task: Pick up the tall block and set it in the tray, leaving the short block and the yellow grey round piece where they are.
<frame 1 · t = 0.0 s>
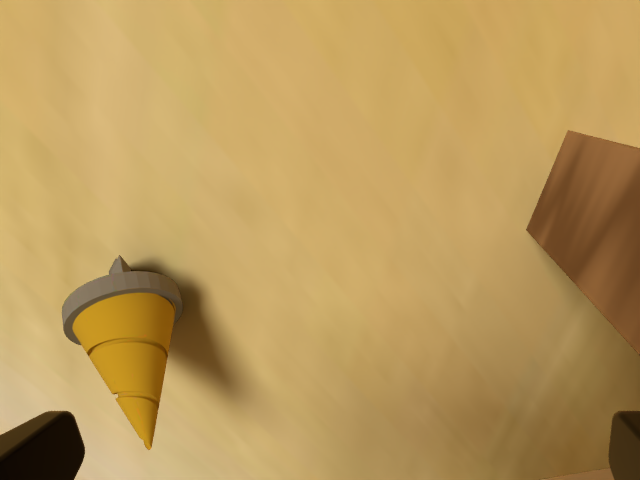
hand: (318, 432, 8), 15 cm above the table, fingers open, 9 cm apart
yellow grey round piece: (167, 298, 25), on the table
tall block: (598, 195, 20), on the table
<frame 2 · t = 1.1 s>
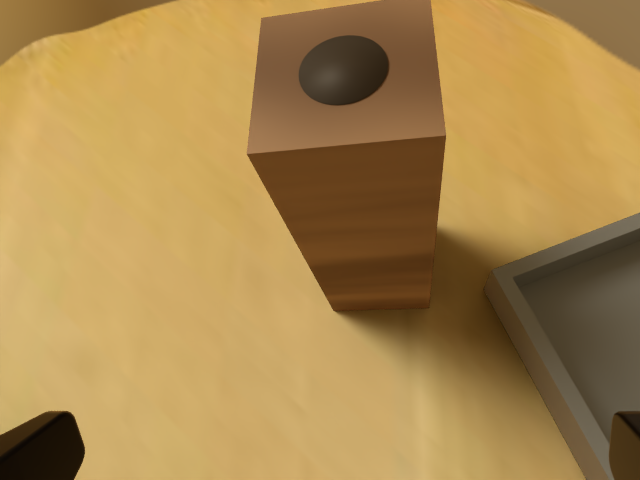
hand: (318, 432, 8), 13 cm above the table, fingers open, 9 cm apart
tall block: (378, 265, 23), on the table
when the fingers open (8 cm above the table, at t = 6.4 s): tall block stays where it is, resting on tray.
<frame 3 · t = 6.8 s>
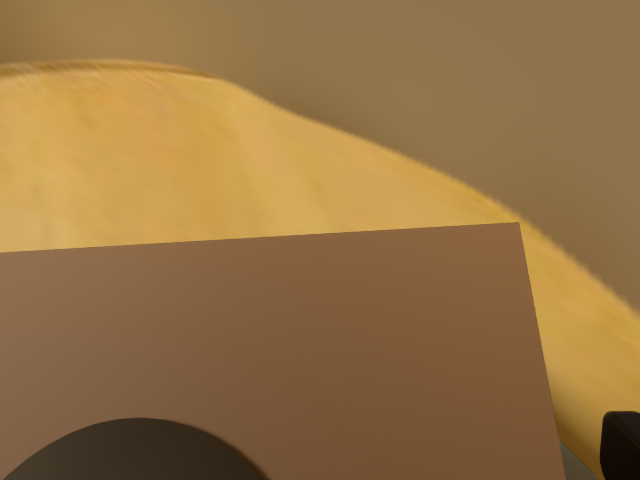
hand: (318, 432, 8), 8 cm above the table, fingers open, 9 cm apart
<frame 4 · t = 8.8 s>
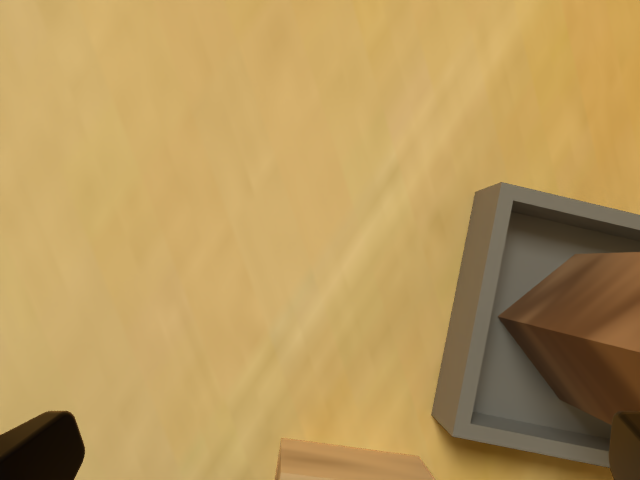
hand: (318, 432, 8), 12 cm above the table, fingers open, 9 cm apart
tray: (560, 324, 21), on the table
tall block: (567, 326, 20), resting on tray
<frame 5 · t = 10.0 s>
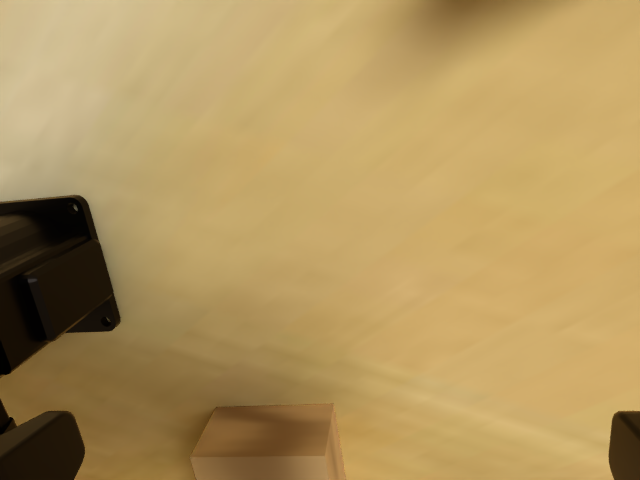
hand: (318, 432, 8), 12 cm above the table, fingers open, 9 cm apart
short block: (284, 450, 24), on the table
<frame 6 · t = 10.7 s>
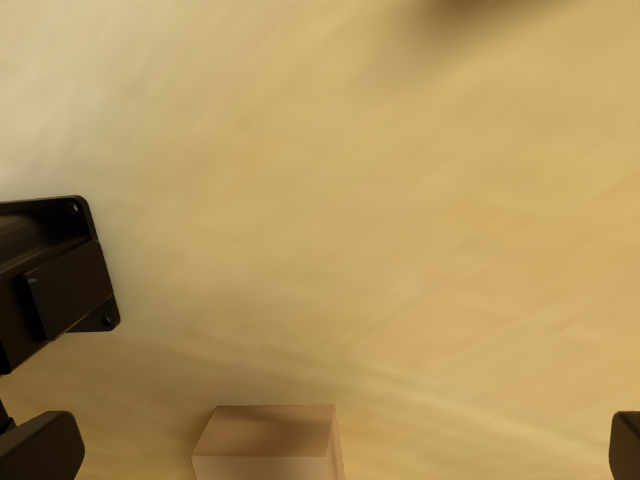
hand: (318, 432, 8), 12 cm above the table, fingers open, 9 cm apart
short block: (284, 450, 24), on the table
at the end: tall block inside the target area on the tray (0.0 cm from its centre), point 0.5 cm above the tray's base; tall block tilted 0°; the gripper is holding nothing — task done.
